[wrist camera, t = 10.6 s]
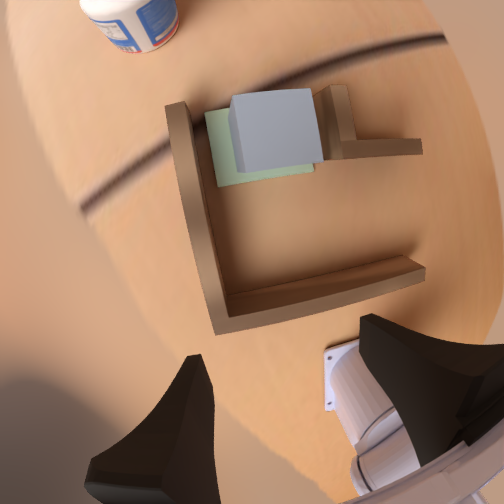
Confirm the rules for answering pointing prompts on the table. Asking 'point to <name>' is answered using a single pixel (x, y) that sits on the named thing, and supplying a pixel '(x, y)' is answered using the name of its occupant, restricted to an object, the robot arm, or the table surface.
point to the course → (302, 291)
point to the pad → (226, 158)
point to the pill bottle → (134, 22)
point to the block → (274, 130)
